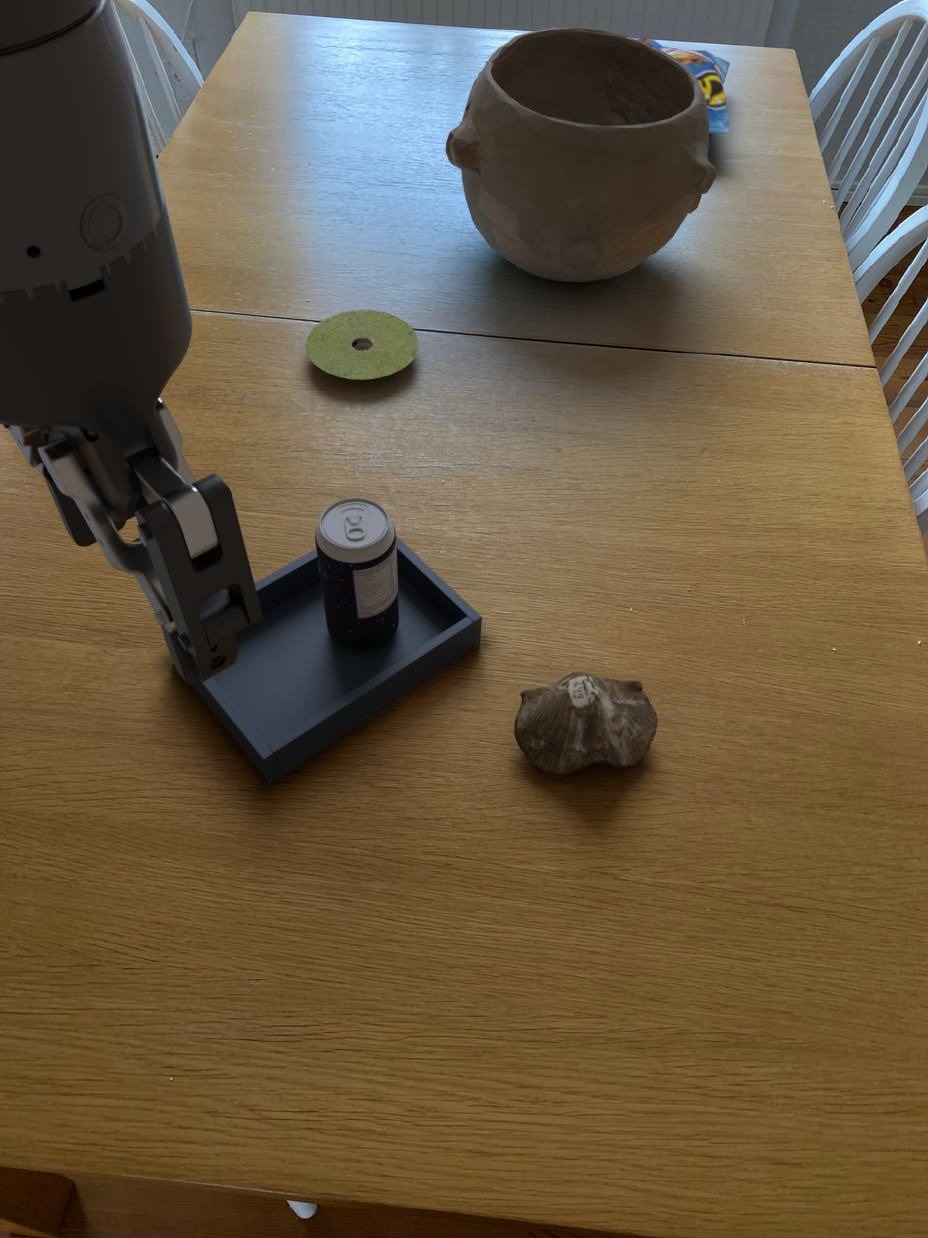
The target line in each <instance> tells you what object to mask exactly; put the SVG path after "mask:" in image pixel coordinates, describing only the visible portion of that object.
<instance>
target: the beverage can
mask: <svg viewBox="0 0 928 1238" xmlns="http://www.w3.org/2000/svg"><path fill="white" fill-rule="evenodd" d="M396 530H397V529H396V527H395V525H394V523H393V521H392V520H391V518H390V516H389V513H388V512H387V510H386V509H385V508H384V507H383V506H382V505H381V504H380V503H378V502H376V501H374V500H372V499H369V498H364V497H347V498H342V499H339V500H337V501H334V502H333V503H332V504H330V505H328V506H327V507H326V508H325V509H324V510H323V512H322V513H321V515H320V517H319V520H318V525H317V527H316V529H315V532H314V542H315V549H316V550H317V557H318V565H319V572H320V579H321V587H322V594H323V601H324V609H325V616H326V623H327V628H328V631H329V633H330V635H331V636H332V637H333V638H334V639H335V640H336V641H337V642H338V643H340V644H342V645H344V646H346V647H349V648H354V649H369V648H374V647H377V646H379V645H381V644H383V643H385V642H386V641H388V640H389V639H390V638H391V637H392V636H393V635H394V634H395V632H396V630H397V628H398V625H399V602H398V576H397V549H396V536H397V531H396Z"/></svg>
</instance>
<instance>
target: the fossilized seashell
mask: <svg viewBox="0 0 928 1238" xmlns="http://www.w3.org/2000/svg"><path fill="white" fill-rule="evenodd" d="M643 689H644V686H643V683H642V681H641V680H626V679H624V680H623V679H616V678H613V677H612V678H611V677H600V676H598V675H595V674H592V673H589V672H586V671H573V672H571V673H569V674H567V675H565V676H564V677H563V678H561V679H560V680H558V681H557V682H556V683H554V684H550V685H546V686H545V685H544V686H539V687H531V688H527V689H523V690H522V691H521V692H519V693H520V694H519V695H520V697H521V702H520V706H519V709H518V711H517V714H516V717H515V719H514V732H513V734H514V737H515V741H516V744H517V746H518V747H519V749H520V750H521V751H522V753H523V756H524V757H525V758H526V759H527V760H528V761H529V762H530V763H531V764H532V765H533V766H535V767H537V768H538V769H539V770H541V771H543V772H546V773H549V774H552V775H561V776H562V775H563V776H565V775H568V774H572V773H576V772H580V771H582V770H584V769H585V768H588V767H589V766H590V765H593V764H597V763H599V764H605V765H608V766H610V767H612V768H616V769H617V768H618V769H619V768H620V769H622V768H627V767H628V768H629V767H633V766H635V765H636V764H637V763H638V762H640V761H641V760H642V758H644V757H645V756H646V755H647V754H648V752H649V751H650V749H651V746H652V745H651V744H652V742H653V741H654V739H655V736H656V733H657V728H658V715H657V712H656V711H655V709H654V707H653V704H652V703H651V702H650V699H649V697H648V696H647V694H646V693H645V692H644V690H643Z"/></svg>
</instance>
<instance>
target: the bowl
mask: <svg viewBox="0 0 928 1238" xmlns="http://www.w3.org/2000/svg"><path fill="white" fill-rule="evenodd" d="M637 39H638V38H637ZM637 39H636V38H631V37H627V35H623V34H620V33H616V32H613V31H609V30H604V29H600V28H591V27H581V26H580V27H579V26H578V27H577V26H573V27H571V26H570V27H549V28H543V29H539V30H534V31H530V32H526V33H525V32H524V33H521V34H517V35H515V36H513V37H512V38H511V39H510V40H508V42H506V43H504V44H503V45H501V46H499V47H498V48H497V49H496V50H494V52H493V53H491V55H490V57H489V59H488V60H486V61H485V65H484V66H483V68H482V69H481V71H479V72H478V74H477V77H476V78H475V80H474V81H473V83H472V86H471V89H470V91H469V95H468V97H467V100H466V104H465V108H464V112H463V115H462V117H461V121H460V122H459V124H458V126H456V127H455V128H453V129H450V131H449V132H448V136H447V139H446V142H445V154H446V157H447V160H448V162H449V163H450V164H451V165H452V166H454V167H456V168H458V169H460V171H461V173H460V174H461V182H462V187H463V192H464V198H465V201H466V204H467V208H468V211H469V215H470V217H471V221H472V223H473V225H474V226H475V228H476V229H477V231H478V233H480V235H481V236H482V237H483V239H484V240H485V241H486V243H487V244H488V245H489V247H490V248H491V249H492V250H494V251H495V252H496V253H497V254H499V255H500V256H501V257H502V258H503V259H505V260H507V261H509V262H510V263H511V264H514V265H515V266H516V267H517V268H519V269H521V270H522V271H525V272H526V273H528V274H529V275H534V276H536V277H539V278H543V279H547V280H552V281H557V282H563V283H589V282H596V281H601V280H602V281H603V280H608V279H612V278H616V277H618V276H620V275H623V274H625V273H628V272H630V271H631V270H633V269H634V268H636V267H637V266H639V265H640V264H642V263H644V262H645V261H646V260H648V259H649V258H650V257H651V256H653V255H655V254H656V253H657V252H659V251H660V250H661V249H662V248H664V246H666V245H667V244H668V243H669V242H670V241H671V240H672V239H673V238H674V236H675V235H676V234H677V232H678V230H679V229H680V228H681V226H682V224H683V223H684V221H685V220H686V219H687V217H688V214H692V213H694V212H695V211H696V210H697V209H698V208H699V205H700V202H701V199H702V196H703V195H705V194H707V193H709V191H710V189H711V188H712V186H713V185H714V182H715V180H716V179H717V171H716V170H717V168H716V167H715V166H714V165H713V164H712V163H711V162H710V161H709V158H708V154H709V148H710V133H709V117H708V109H707V102H706V98H705V96H704V93H703V91H702V89H701V86H700V84H699V81H698V80H697V78H696V77H695V76H694V74H693V73H692V71H691V70H689V69H688V68H687V67H686V66H684V65H683V64H682V63H681V62H679V61H678V60H676V59H675V58H674V57H672V56H671V55H669V54H667V53H665V52H663V51H662V50H660V49H658V48H656V47H654V46H653V45H651V44H649V43H647V42H644V41H640V40H637Z"/></svg>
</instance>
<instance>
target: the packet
mask: <svg viewBox="0 0 928 1238" xmlns="http://www.w3.org/2000/svg"><path fill="white" fill-rule="evenodd" d="M637 40H640V41H644V42H647V43H649V44H651V45H653V46H654V47H656V48H658V49H660V50H662V51H663V52H665V53H667V54H669V55H671V56H672V57H674V58H675V59H676V60H678V61H679V62H681V63H682V64H683V65H684V66H686V67H687V68H688V69H689V70H691V71H692V73H693V74H694V76H695V77H696V78H697V80H698V81H699V84H700V86H701V89H702V91H703V93H704V96H705V98H706V102H707V109H708V117H709V134H715V135H719V134H728V133H731V125H730V120H729V113H728V108H727V103H726V95H725V91H724V84H725V81H726V78H727V74H728V71H729V68H730V64H731V63H730V62H729V61H727V60H725V59H723V58H721V57H719V56H717V55H715V54H713V53H711V52H709V51H707V50H705V49H704V50H702V49H701V50H700V49H684V48H677V47H676V48H675V47H669V46H663V45H661V44H660V43H659V42H657V41H656V40H654V39H653V38H652V37H650V36H648V35H647V36H643V37H640V38H637Z"/></svg>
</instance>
